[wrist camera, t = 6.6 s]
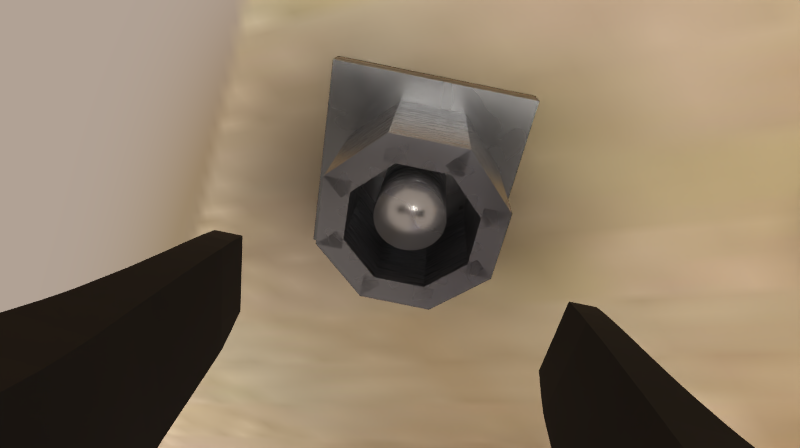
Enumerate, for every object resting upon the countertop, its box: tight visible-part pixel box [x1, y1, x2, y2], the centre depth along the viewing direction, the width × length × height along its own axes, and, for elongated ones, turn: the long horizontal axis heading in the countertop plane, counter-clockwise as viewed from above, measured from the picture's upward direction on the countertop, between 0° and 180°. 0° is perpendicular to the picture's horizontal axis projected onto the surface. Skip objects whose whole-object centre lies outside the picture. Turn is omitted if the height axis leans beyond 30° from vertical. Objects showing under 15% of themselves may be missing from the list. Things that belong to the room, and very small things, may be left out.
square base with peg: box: [314, 56, 539, 250], centre depth 16 cm, size 7×7×4 cm
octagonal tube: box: [316, 101, 512, 309], centre depth 15 cm, size 5×5×4 cm
